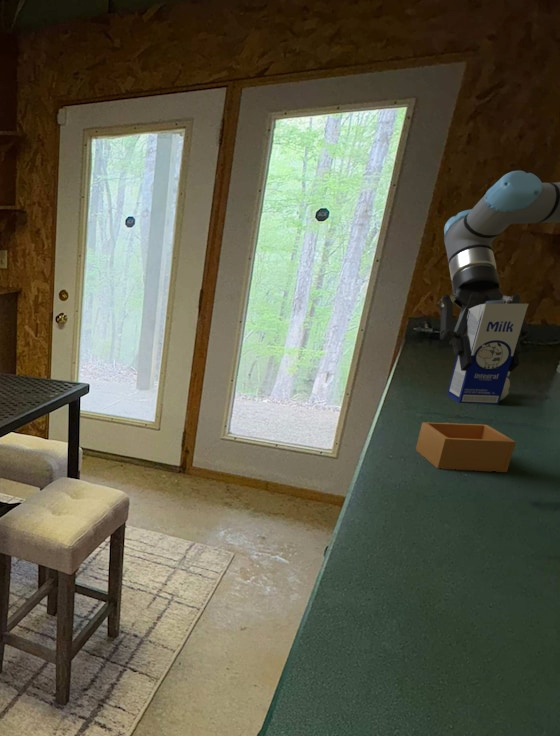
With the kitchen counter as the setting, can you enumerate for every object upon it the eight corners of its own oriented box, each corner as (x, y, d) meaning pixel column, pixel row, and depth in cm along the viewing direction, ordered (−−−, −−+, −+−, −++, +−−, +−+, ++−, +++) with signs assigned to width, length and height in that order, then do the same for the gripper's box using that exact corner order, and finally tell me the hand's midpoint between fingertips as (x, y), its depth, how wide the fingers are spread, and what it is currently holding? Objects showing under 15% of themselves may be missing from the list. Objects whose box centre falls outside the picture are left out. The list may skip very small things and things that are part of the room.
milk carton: (458, 403, 128) (485, 302, 120) (445, 394, 134) (470, 298, 126) (499, 404, 126) (530, 302, 118) (485, 396, 132) (513, 298, 124)
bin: (478, 453, 143) (487, 424, 140) (506, 472, 132) (516, 441, 129) (415, 450, 146) (422, 422, 144) (437, 468, 135) (445, 438, 132)
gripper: (519, 287, 133) (538, 378, 125) (411, 288, 138) (423, 376, 130) (541, 262, 126) (563, 357, 118) (427, 264, 132) (440, 355, 123)
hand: (489, 367), depth 124 cm, fingers closed on milk carton, 7 cm apart
